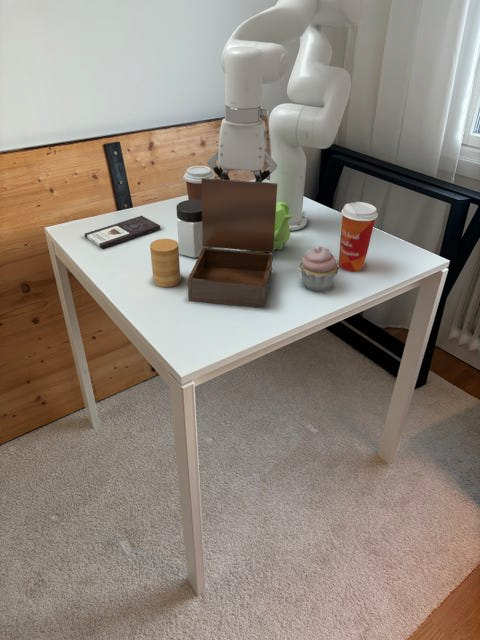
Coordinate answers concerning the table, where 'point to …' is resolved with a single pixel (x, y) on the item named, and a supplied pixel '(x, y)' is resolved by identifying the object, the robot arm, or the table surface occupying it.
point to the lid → (238, 214)
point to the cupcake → (318, 269)
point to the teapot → (281, 225)
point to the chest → (231, 277)
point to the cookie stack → (165, 262)
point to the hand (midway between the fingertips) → (241, 196)
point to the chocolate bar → (122, 231)
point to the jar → (190, 228)
